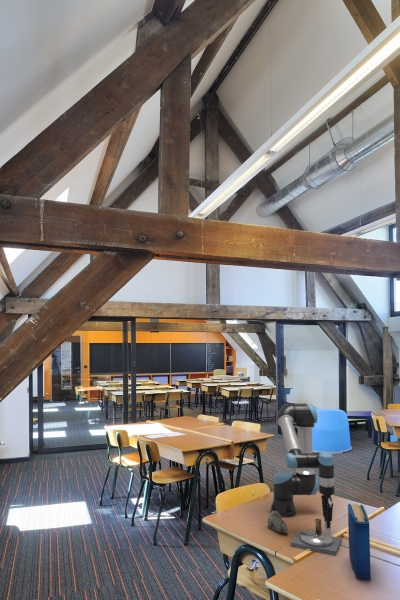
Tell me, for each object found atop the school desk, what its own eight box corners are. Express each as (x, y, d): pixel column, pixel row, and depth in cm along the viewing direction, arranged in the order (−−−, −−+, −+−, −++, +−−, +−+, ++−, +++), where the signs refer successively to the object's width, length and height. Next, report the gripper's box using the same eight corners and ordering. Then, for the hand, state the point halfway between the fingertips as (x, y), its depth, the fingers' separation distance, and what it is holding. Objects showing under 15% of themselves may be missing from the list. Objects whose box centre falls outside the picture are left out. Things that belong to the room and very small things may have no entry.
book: (373, 582, 186) (370, 520, 188) (355, 580, 187) (353, 519, 190) (364, 559, 207) (362, 503, 209) (348, 557, 208) (347, 502, 211)
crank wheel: (304, 530, 233) (303, 515, 234) (335, 536, 226) (334, 521, 227) (296, 542, 219) (296, 526, 220) (329, 549, 212) (329, 532, 213)
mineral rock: (288, 536, 231) (288, 516, 232) (267, 535, 232) (267, 515, 234) (286, 527, 244) (286, 508, 245) (267, 526, 245) (267, 507, 246)
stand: (298, 534, 235) (298, 529, 235) (341, 542, 225) (341, 537, 225) (290, 546, 219) (290, 541, 220) (335, 555, 210) (335, 550, 210)
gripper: (338, 489, 219) (339, 539, 216) (330, 481, 232) (331, 528, 229) (322, 489, 219) (324, 539, 216) (315, 481, 232) (316, 528, 229)
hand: (327, 533), depth 223 cm, fingers closed
